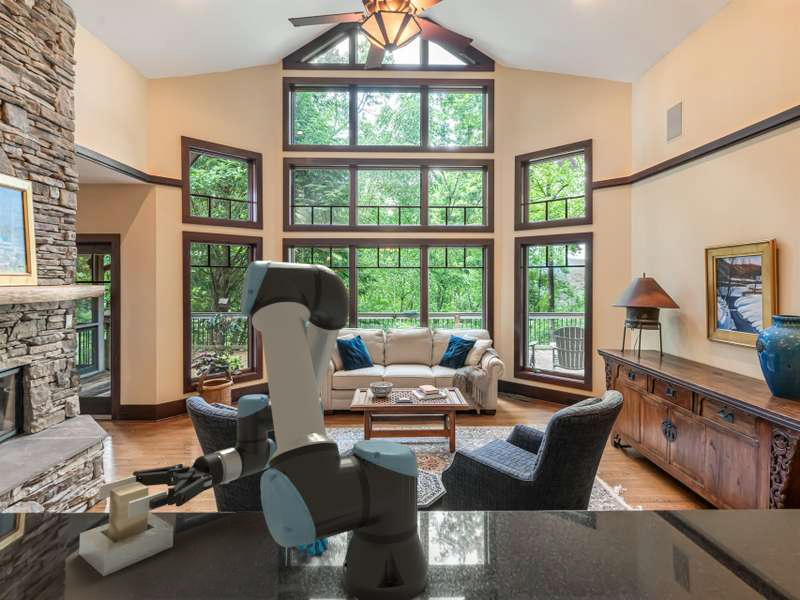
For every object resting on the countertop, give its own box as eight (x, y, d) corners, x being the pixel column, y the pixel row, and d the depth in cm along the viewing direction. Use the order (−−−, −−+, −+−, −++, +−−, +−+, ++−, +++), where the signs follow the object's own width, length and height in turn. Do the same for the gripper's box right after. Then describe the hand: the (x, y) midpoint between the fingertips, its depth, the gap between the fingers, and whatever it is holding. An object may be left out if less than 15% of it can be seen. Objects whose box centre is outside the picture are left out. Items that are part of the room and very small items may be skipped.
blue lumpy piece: (308, 559, 76) (282, 510, 80) (288, 578, 77) (263, 529, 81) (341, 539, 86) (316, 497, 90) (322, 556, 87) (299, 513, 91)
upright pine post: (146, 548, 82) (148, 487, 83) (118, 560, 78) (120, 495, 79) (135, 540, 85) (137, 481, 86) (107, 551, 81) (110, 489, 82)
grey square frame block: (172, 546, 83) (173, 526, 83) (103, 576, 73) (104, 553, 74) (145, 529, 90) (146, 510, 90) (79, 554, 80) (79, 533, 80)
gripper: (247, 498, 90) (142, 540, 73) (188, 473, 104) (88, 504, 87) (248, 463, 90) (143, 496, 73) (189, 443, 105) (89, 467, 87)
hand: (113, 500), depth 80 cm, fingers open, 13 cm apart
